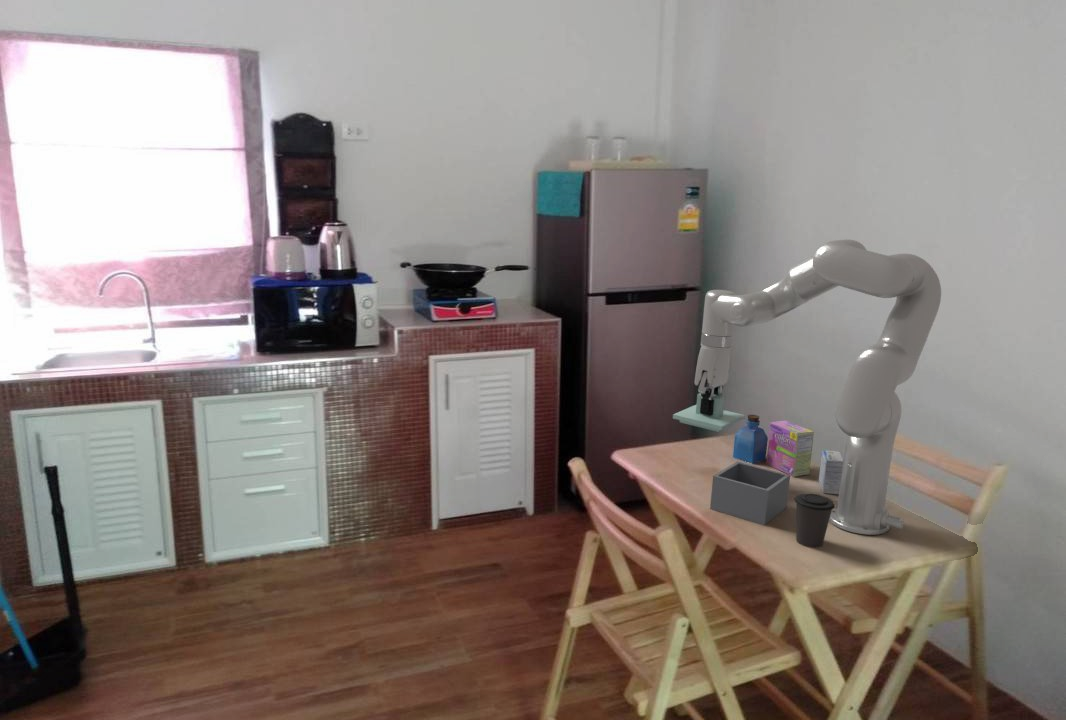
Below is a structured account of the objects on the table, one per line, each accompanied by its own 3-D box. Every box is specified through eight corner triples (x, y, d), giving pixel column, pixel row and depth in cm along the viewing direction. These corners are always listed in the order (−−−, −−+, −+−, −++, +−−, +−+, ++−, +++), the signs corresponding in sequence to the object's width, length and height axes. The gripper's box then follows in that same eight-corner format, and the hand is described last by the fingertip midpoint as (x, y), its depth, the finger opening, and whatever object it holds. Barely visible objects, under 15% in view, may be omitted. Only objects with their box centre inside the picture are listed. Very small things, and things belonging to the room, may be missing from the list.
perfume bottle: (746, 453, 226) (750, 411, 223) (765, 459, 221) (770, 417, 219) (732, 457, 222) (736, 415, 219) (751, 464, 217) (756, 421, 215)
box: (765, 464, 218) (770, 421, 215) (781, 461, 220) (786, 419, 218) (792, 477, 209) (797, 433, 206) (809, 475, 211) (815, 431, 208)
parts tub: (786, 507, 189) (790, 475, 187) (764, 525, 179) (768, 490, 177) (733, 492, 197) (737, 461, 195) (710, 508, 187) (713, 475, 185)
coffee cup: (782, 540, 172) (787, 496, 169) (800, 530, 177) (806, 486, 175) (818, 554, 166) (824, 508, 164) (836, 542, 172) (842, 498, 169)
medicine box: (841, 495, 198) (845, 461, 196) (822, 493, 199) (826, 459, 197) (836, 484, 205) (840, 451, 204) (817, 482, 206) (821, 449, 204)
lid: (744, 422, 205) (747, 395, 204) (721, 434, 195) (724, 406, 194) (696, 411, 213) (699, 385, 212) (672, 422, 203) (674, 395, 201)
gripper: (717, 334, 208) (710, 403, 212) (687, 343, 195) (680, 416, 199) (744, 338, 203) (737, 409, 208) (716, 348, 191) (708, 423, 195)
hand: (709, 412), depth 203 cm, fingers closed on lid, 3 cm apart
